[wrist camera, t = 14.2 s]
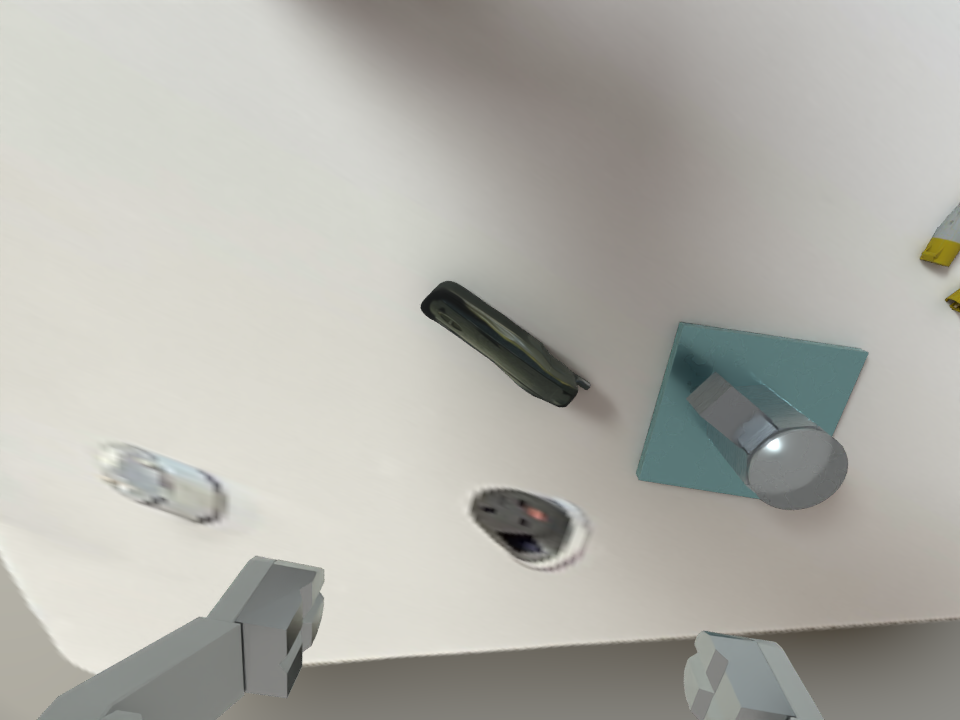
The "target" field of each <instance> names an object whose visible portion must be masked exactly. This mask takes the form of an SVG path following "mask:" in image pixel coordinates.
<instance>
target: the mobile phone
mask: <svg viewBox="0 0 960 720" xmlns="http://www.w3.org/2000/svg"><path fill="white" fill-rule="evenodd" d="M421 310H422V312H423V313H424V314H425V315H426V316H427V317H429V318H430V319H432V320H434V321H435V322H437V323H439V324H440V325H442V326H443V327H445V328H446V329H448V330H449V331H450V332H452V333H453V334H455V335H456V336H458V337H459V338H460V339H462V340H463V341H464V342H466V343H467V344H469V345H470V346H471V347H473V348H474V349H476V350H477V351H479V352H480V353H481V354H483V355H484V356H486V357H487V358H489V359H490V360H491V361H492V362H494V363H495V364H496V365H497V366H498V367H499V368H500V369H501V370H502V371H503V372H505V373H506V374H507V375H508V376H509V377H510V378H511V379H512V380H513V381H514V382H515V383H516V384H517V385H518V386H520V387H521V388H522V389H524V390H525V391H526V392H528V393H529V394H531V395H533V396H535V397H537V398H539V399H542V400H544V401H547V402H549V403H551V404H553V405H555V406H557V407H566V406H567V405H568V404H569V403H570V402H571V401H572V400H573V399H574V397H575V396H576V395H577V393H578V388H577V385H579V386H580V387H582V388H583V389H585V390H588V389H589V388H590V386H591V385H590V384H589V382H587V381H586V380H584V379H583V378H581V377H579V376H578V375H576V374H574V373H573V372H571V371H570V370H569V369H568V368H567V367H566V366H565V365H564V364H562V363H561V362H560V361H558V360H557V359H555V358H554V357H553V356H552V355H550V354H549V352H548V351H547V350H546V348H545V347H544V346H543V344H542V343H541V342H539V341H538V340H537V339H536V338H534V337H533V336H531V335H530V334H529V333H527V332H526V331H524V330H523V329H521V328H520V327H519V326H517V325H516V324H514V323H513V322H512V321H511V320H509V319H508V318H507V317H505V316H504V315H503V314H501V313H500V312H498V311H497V310H495V309H494V308H492V307H491V306H489V305H488V304H486V303H485V302H484V301H482V300H481V299H479V298H478V297H477V296H475V295H474V294H472V293H471V292H470V291H468V290H467V289H465V288H464V287H462V286H461V285H459V284H457V283H455V282H452V281H446V282H442V283H440V284H439V285H438V286H437V287H436V288H435V289H434V290H433V291H432V292H431V293H430V294H429V295H428V296H427V297H426V298H425V299H424V301H423V302H422V304H421Z"/></svg>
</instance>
